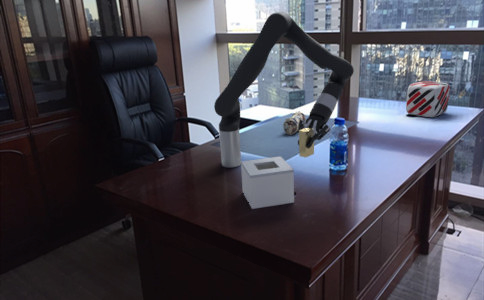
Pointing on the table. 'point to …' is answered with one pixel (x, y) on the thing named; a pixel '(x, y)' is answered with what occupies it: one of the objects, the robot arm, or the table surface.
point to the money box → (267, 182)
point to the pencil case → (293, 123)
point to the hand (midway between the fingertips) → (303, 146)
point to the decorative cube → (427, 98)
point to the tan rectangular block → (303, 139)
